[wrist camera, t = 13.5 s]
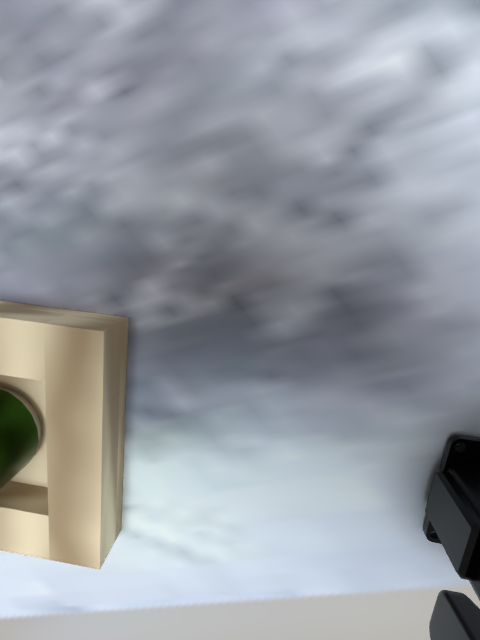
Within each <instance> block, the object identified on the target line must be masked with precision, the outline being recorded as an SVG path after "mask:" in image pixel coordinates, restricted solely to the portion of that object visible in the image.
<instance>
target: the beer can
mask: <svg viewBox="0 0 480 640" xmlns="http://www.w3.org/2000/svg"><path fill="white" fill-rule="evenodd" d="M41 435H42V427H41V420H40V418H39V416H38V413H37V411H36V409H35V408H34V407H33V405H32V404H31V403H30V401H29V400H28V399H27V398H25V397H24V396H23V395H21V394H20V393H19V392H17V391H15V390H13V389H10V388H8V387H5V386H0V489H1V488H2V487H3V486H4V485H5V484H6V483H7V482H9V481H10V480H11V479H12V478H13V477H14V476H15V475H16V474H17V473H18V472H20V471H21V470H22V469H23V468H24V467H25V466H26V465H27V464H28V463H29V462H30V461H31V459H32V458H33V457H34V455H35V454H36V452H37V449H38V446H39V443H40V439H41Z"/></svg>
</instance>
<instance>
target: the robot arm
mask: <svg viewBox="0 0 480 640" xmlns="http://www.w3.org/2000/svg"><path fill="white" fill-rule="evenodd" d="M459 443H462V445H461V446H460V447H455V446H456V445H457V444H459ZM425 511H426V514H427V516H426V520H425V524H424V527H423V531H424V533H425V535H426V537H427V539H428V540H429V541H431V542H435V543H440V544H442V545H443V547H444V549H445V551H446V553H447V555H448V557H449V559H450V561H451V562H452V564H453V566H454V568H455V570H456V572H457V573H458V575H459V576H460V577H461V578H462V579H467V580H469V581H470V583H471V585H472V587H473V589H474V591H475V593H476V594H477V596H478V598H479V600H480V438H478V437H471V436H465V435H454V436H451V437H450V438H449V439H448V441H447V445H446V448H445V452H444V455H443V459H442V463H441V466H440V470H439V471H438V472H437V473H436V474H435V477H434V481H433V484H432V488H431V491H430V495H429V499H428V502H427V506H426V510H425ZM433 531H436V532H435V533H431V532H433ZM429 628H430V638H431V640H480V609H479V608H478V607H477V606H476V605H475V604H474V603H473V602H472V601H471V600H470V599H469V598H468V597H467V596H466V595H464V594H462V593H458V592H453V591H448V590H442V591H440V592H439V594H438V597H437V600H436V603H435V607H434V610H433V613H432V616H431V620H430V627H429Z"/></svg>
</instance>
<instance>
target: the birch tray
mask: <svg viewBox="0 0 480 640" xmlns="http://www.w3.org/2000/svg"><path fill="white" fill-rule="evenodd" d="M128 320H129V318H127V317H120V316H112V315H105V314H97V313H90V312H82V311H75V310H67V309H60V308H52V307H44V306H37V305H29V304H22V303H14V302H7V301H0V386H5V387H8V388H10V389H13V390H15V391H17V392H19V393H20V394H21V395H23V396H24V397H25V398H27V399H28V400H29V401H30V403H31V404H32V405H33V407H34V408H35V409H36V411H37V413H38V416H39V418H40V420H41V427H42V435H41V439H40V443H39V446H38V449H37V452H36V454H35V455H34V457H33V458H32V459H31V461H30V462H29V463H28V464H27V465H26V466H25V467H24V468H23V469H22V470H21V471H20V472H18V473H17V474H16V475H15V476H14V477H13V478H12V479H11V480H10V481H9V482H7V483H6V484H5V485H4V486H3V487H2V488H1V489H0V550H2V551H7V552H12V553H17V554H22V555H28V556H33V557H38V558H43V559H48V560H54V561H59V562H64V563H69V564H74V565H79V566H85V567H90V568H95V569H100V568H101V566H102V565H103V563H104V561H105V559H106V557H107V555H108V553H109V552H110V550H111V548H112V546H113V544H114V542H115V540H116V539H117V537H118V535H119V533H120V531H121V523H122V494H123V465H124V436H125V407H126V378H127V349H128Z"/></svg>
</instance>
